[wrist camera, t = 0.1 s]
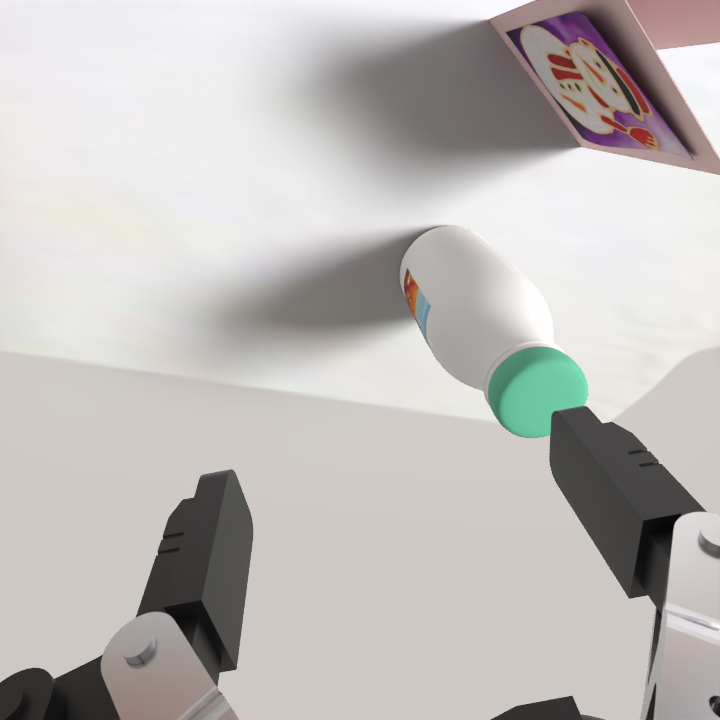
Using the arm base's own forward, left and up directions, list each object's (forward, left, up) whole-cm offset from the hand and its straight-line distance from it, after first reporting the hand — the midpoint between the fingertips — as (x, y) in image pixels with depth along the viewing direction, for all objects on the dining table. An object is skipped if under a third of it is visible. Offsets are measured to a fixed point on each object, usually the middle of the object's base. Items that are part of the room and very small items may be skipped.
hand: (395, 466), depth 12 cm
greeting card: (-8, +18, -30) cm, 35 cm away
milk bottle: (+6, +8, -29) cm, 31 cm away
